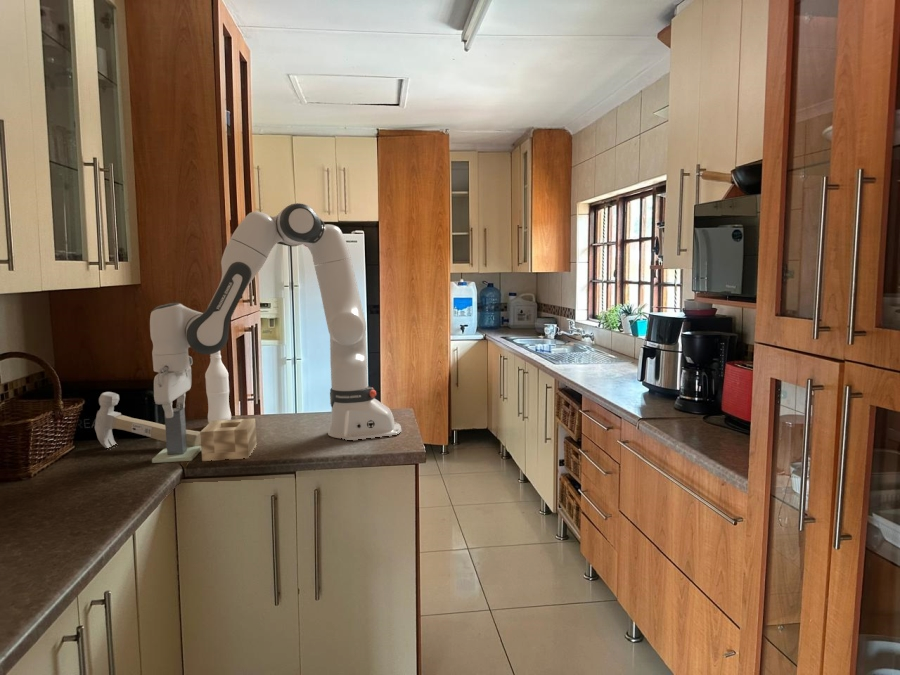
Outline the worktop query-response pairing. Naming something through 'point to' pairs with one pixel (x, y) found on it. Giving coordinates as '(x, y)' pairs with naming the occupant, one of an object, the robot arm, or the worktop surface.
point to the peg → (176, 432)
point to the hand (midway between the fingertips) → (175, 413)
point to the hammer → (130, 424)
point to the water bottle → (217, 389)
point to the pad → (186, 456)
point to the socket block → (228, 439)
